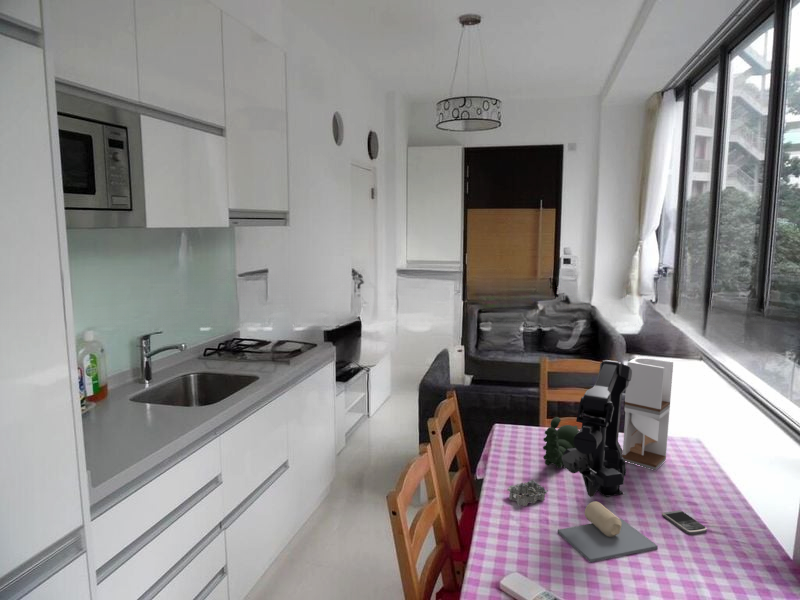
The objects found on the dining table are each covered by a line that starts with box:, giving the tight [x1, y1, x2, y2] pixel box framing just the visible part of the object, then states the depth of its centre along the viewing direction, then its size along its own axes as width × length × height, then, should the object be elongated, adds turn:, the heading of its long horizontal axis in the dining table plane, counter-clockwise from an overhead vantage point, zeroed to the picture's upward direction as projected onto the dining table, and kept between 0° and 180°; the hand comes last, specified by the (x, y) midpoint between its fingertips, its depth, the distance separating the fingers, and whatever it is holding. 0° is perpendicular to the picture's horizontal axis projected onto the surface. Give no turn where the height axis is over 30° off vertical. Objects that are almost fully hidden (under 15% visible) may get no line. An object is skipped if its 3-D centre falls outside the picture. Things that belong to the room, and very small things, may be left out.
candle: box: [584, 501, 622, 537], centre depth 153 cm, size 6×6×10 cm
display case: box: [622, 356, 674, 471], centre depth 196 cm, size 11×11×35 cm
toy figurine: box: [542, 416, 580, 469], centre depth 197 cm, size 9×19×25 cm
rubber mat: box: [557, 517, 659, 563], centre depth 150 cm, size 20×14×1 cm
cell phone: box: [661, 509, 708, 535], centre depth 159 cm, size 6×11×1 cm, turn 15°
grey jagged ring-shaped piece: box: [506, 479, 549, 507], centre depth 172 cm, size 11×8×4 cm
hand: (590, 496), depth 155 cm, fingers closed
